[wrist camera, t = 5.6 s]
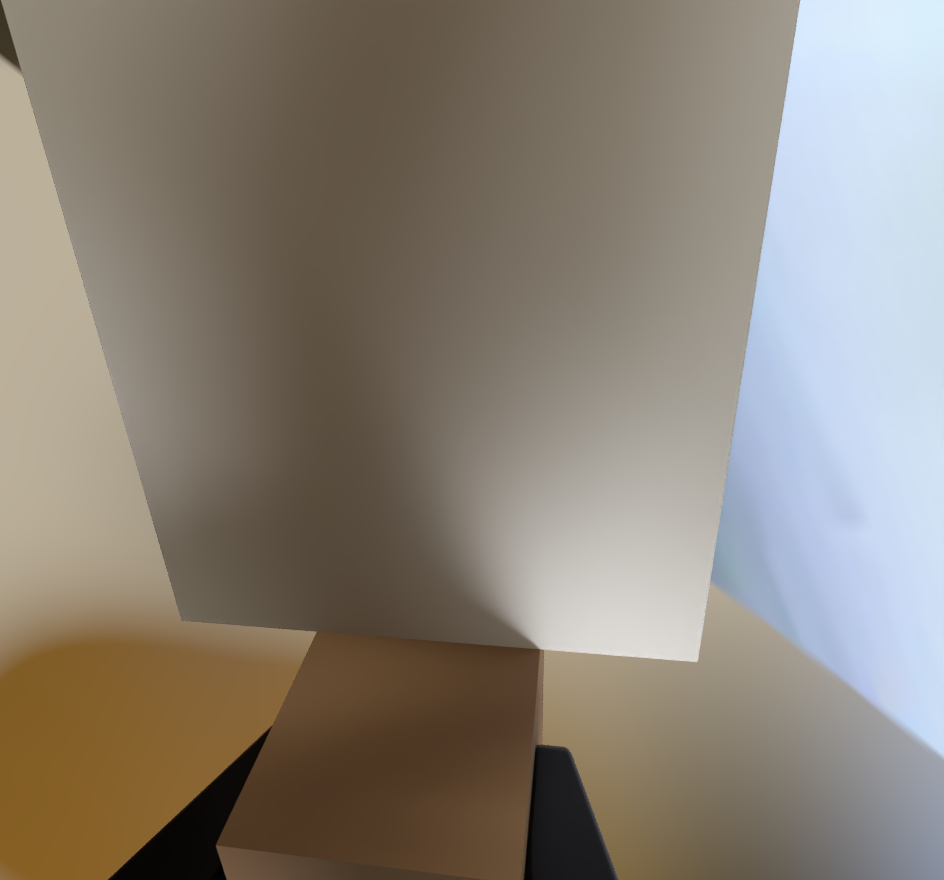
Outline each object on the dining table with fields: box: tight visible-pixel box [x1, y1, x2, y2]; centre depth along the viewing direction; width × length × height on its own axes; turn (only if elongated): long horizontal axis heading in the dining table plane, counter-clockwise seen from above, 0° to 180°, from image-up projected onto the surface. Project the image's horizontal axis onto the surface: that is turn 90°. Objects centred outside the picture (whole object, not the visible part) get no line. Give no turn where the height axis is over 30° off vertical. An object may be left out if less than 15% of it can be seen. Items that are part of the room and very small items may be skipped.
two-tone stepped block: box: [1, 0, 800, 880], centre depth 8 cm, size 6×15×4 cm, turn 2°
